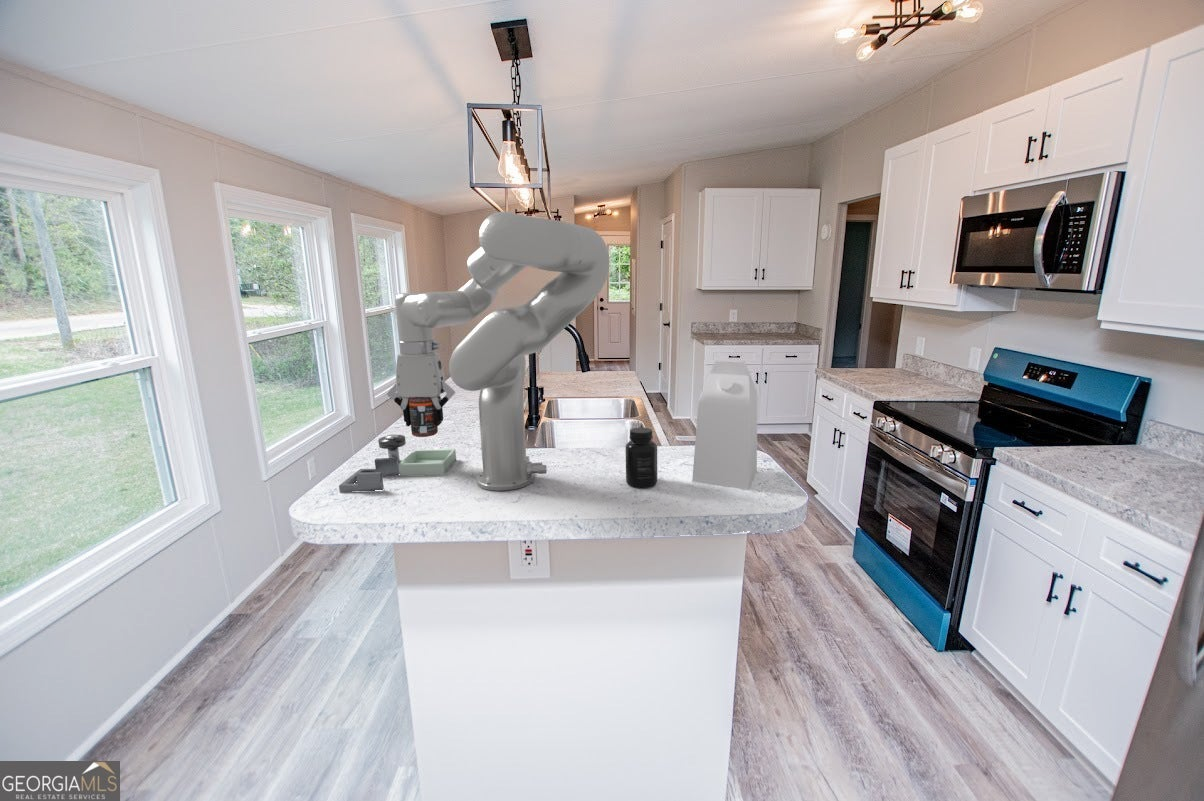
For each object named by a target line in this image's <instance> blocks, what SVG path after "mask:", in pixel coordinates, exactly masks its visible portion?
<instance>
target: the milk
mask: <svg viewBox="0 0 1204 801" xmlns="http://www.w3.org/2000/svg"><path fill="white" fill-rule="evenodd" d="M694 442H695V443H694V444H695V445H694V454H693V467H692V477H691V478H692V479H691V482H693V483H699V484H706V485H713V486H719V487H726V488H731V489H732V488H734V489H740V490H746V491H749V490H750V487H751V485H752V483H753V481H754V478H755V477H756V475H757V472H758V470H757V469H758V391H757V388H756V385H755V383H754V381H753V378H752V376H751V374H750V371H749V368H748V366H747V364H746V362H745V361H743V360H742V361H741V360H727V359H726V360H725V359H723V360H722V359H721V360H720V359H717V360H715V361H714V364H713V366H712V368H711V369H710V372H709V374H708V376H707V379H706V381H705V382H704V385H703V388H702V390H701V393H700V395H699V398H698V407H697V418H696V430H695V441H694Z"/></svg>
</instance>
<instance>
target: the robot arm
mask: <svg viewBox="0 0 1204 801" xmlns="http://www.w3.org/2000/svg"><path fill="white" fill-rule="evenodd" d="M478 242H479V245H480V247H478V248H476V250H475V251H473V253H471V254H470V255H469V256H468V259H467V264H466V267H467V270H468V272H469V275H470V277H471V279H470V280H469V281H467V282H466V283H465V284H464V285H463V286H461V287H460V288H459V289H458V290H455V291H454V290H453V291H452V290H451V291H430V292H402V293H398V294H397V295H396V296H395V299H394V304H395V305H394V306H395V314H396V324H397V327H396V328H397V334H398V335H397V336H398V345H399V354H397V355H396V356H397V357H396V363H395V364H396V368H395V384H393V386H392V387H391V388H390V389H389V390H388V392H387V394H386V395H387V396H388V397H389V398H391V400H393V401H394V403H396V404H397V405H398V406H399V408H400V409H401V410H402V414H403V421H404V422H405V426H406V427H411V421H410V409H409V399H410V398H414V397H425V398H431V399H432V401H433V403H434V405H435V409H434V423H435V425H436V426H440V425H442V422H444V410H443V407H444V406H445V405H446V404H447V402H449V401H450V399H452V397H454V395H455V394H456V391H455V389H453V388H452V387H451V386H450V385H449V384H448V383H447V382H446V380H445V373H444V368H443V364H442V358H441V356H440V353H439V352H436V351H437V350H441V348H442V346H441V342H436V339H435V334H434V328H435V329H436V328H445V327H450V326H451V327H452V326H461V325H465V324H467V323H468V324H469V322H472V321H473V320H474V319H475V318H477V317H479V315H481V314H482V313H483V312H485V311H486V310H487V309H488V308H490V307H491V305H492V304H493V303H494V301H495V300H496V297H497V296H498V292H499V289H500V288H501V287H503V286H504V285H505V284H507V283H508V282H509V281H510V280H511V279H513V278H515V276H517V275H518V273H520V272H521V271H522V270H524V269H525V268H531V269H537V270H541V271H542V270H543V271H548V272H553V273H554V272H555V273H560V274H558V275H557V276H556V277H554V278H553V279H551V280H550V281H548V282H547V283H545V285H544V286H542V288H541V289H539V291H538V292H537V293H536V294H535V295H534V296H533V297H532V298H530V300H528V301H527V302H526V303H524V304H521V305H517V306H509V307H508V306H507V307H502V308H498V309H496V310H494V311H491V313H489V314H488V315H486V316H485V317H484V318H483V319H482V320H481V321H480V322H479V323H478V324H477V325H476V326H475V327H474V328H473V329H472V330H471V331H470V332H469V333H468V334H467V335H466V337H464V338H463V340H462V341H461V342H460V343H459V344H458V345H457V346H456V347H455V348H454V350H453V351H452V353H451V356H450V357H449V363H448V371H449V376H450V378H451V381H453V383H454V384H455V385H456V386H458V387H459V388H460V389H463V390H465V391H469V392H474V391H475V392H477V391H479V395H478V396H479V398H478V417H479V418H478V419H479V430H480V444H481V445H480V446H481V457H482V459H481V460H482V470H483V471H481V472H480V473H479V474H478V475H477V477H476V484H477V485H478V487H480V488H482V489H484V490H488V491H499V492H501V491H503V492H504V491H511V490H516V489H521V488H523V487H525V486H528V485H529V484H531V483H532V482H533V481H534V480H535V474H539V475H540V474H541V475H545V474H547V472H548V470H547V464H543V462H533V461H530V456H527V450H526V448H527V447H526V446H527V444H526V428H525V405H524V386H525V377H526V376H525V375H526V367H527V364H526V363H527V362H526V360H527V359H526V356H527V355H532V354H535V353H538V352H541V351H542V350H543V349H544V348H546V347H547V346H548V345H549V344H550V342H552V341H553V339H554V338H556V337H557V335H559V334H560V333H561V332H562V331H563V330H564V329H565V328H567V327H568V325H570V324H571V323H572V322H573V321H574V320H575V318H577V317H578V316H579V315H580V314H581V313H583V311H584V310H585V309H587V307H588V306H590V305H591V304H592V303H593V301H595V299H596V298H597V297H598V296H599V294H600V293H601V292H602V290H603V288H604V287H605V285H606V282H607V279H608V276H609V271H610V256H609V255H610V254H609V250H608V246H607V245H606V241H605V240H604V238H603V237H602V236H601V235H600V234H599V233H598V232H597V231H595V230H594V229H592V228H590V227H587V226H583V225H580V224H575V223H571V222H566V221H562V220H556V219H549V218H542V217H535V216H529V215H522V214H518V213H513V212H508V211H497V212H495V213H492V214H490V215H489V216H487V217H486V218H485V219H484V221H483V222H482V224H481V225H480V228H479V232H478ZM443 393H445V395H444V396H443V398H442V396H441V394H443Z"/></svg>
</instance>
